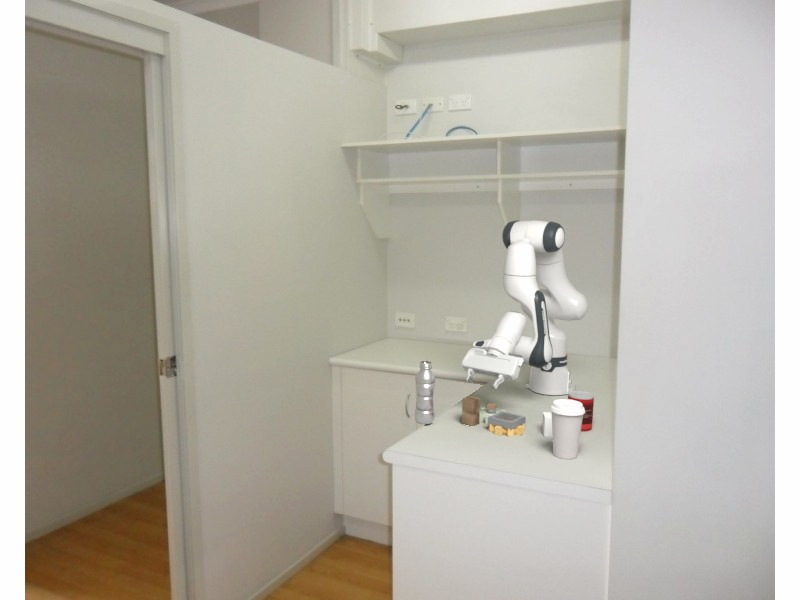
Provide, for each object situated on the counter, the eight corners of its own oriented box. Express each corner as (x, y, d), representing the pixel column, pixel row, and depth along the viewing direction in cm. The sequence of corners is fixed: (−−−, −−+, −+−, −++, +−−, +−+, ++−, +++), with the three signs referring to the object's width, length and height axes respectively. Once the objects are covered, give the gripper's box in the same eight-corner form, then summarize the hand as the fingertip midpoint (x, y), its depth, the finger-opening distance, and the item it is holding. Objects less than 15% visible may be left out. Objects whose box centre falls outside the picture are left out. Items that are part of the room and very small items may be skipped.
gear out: (500, 422, 204) (501, 409, 204) (530, 430, 198) (531, 416, 197) (482, 430, 196) (482, 417, 196) (512, 439, 189) (513, 424, 189)
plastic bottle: (436, 421, 205) (438, 360, 202) (431, 427, 199) (433, 365, 196) (417, 419, 207) (418, 359, 204) (411, 425, 200) (413, 363, 198)
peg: (468, 421, 205) (469, 395, 204) (479, 424, 203) (480, 398, 202) (461, 424, 202) (462, 398, 201) (472, 427, 200) (473, 401, 199)
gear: (478, 412, 214) (478, 398, 214) (510, 416, 211) (510, 401, 210) (471, 422, 204) (471, 407, 204) (504, 426, 201) (505, 411, 200)
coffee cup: (540, 454, 178) (543, 402, 176) (559, 446, 184) (561, 396, 182) (571, 464, 171) (574, 410, 169) (589, 455, 177) (592, 403, 175)
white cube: (564, 438, 191) (565, 419, 191) (544, 437, 192) (544, 418, 191) (561, 431, 197) (562, 412, 197) (542, 430, 198) (542, 411, 197)
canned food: (572, 422, 207) (574, 389, 205) (596, 427, 202) (598, 393, 200) (562, 427, 201) (563, 394, 199) (586, 433, 196) (588, 399, 194)
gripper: (529, 361, 207) (512, 396, 200) (476, 352, 220) (459, 384, 213) (523, 350, 203) (505, 385, 196) (470, 341, 216) (452, 373, 210)
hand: (480, 384), depth 205 cm, fingers open, 8 cm apart
